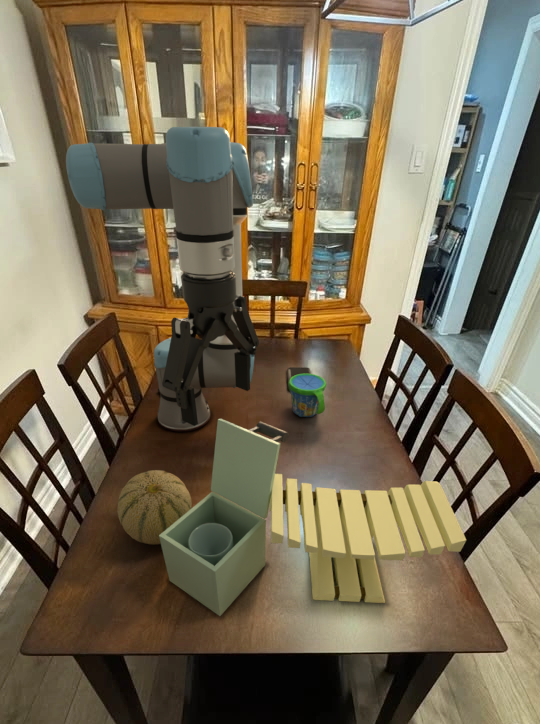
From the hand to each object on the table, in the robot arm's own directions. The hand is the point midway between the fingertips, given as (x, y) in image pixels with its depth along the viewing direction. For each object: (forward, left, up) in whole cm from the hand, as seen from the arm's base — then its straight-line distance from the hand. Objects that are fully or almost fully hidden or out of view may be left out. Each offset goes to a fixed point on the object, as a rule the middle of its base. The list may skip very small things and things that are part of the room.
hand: (218, 404), depth 70 cm
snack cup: (-10, +49, -30) cm, 59 cm away
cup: (+7, -12, -29) cm, 32 cm away
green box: (+7, -11, -30) cm, 32 cm away
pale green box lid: (+7, -2, -10) cm, 12 cm away
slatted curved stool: (+25, +5, -30) cm, 40 cm away
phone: (-22, +65, -30) cm, 75 cm away
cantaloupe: (-10, -10, -30) cm, 33 cm away
